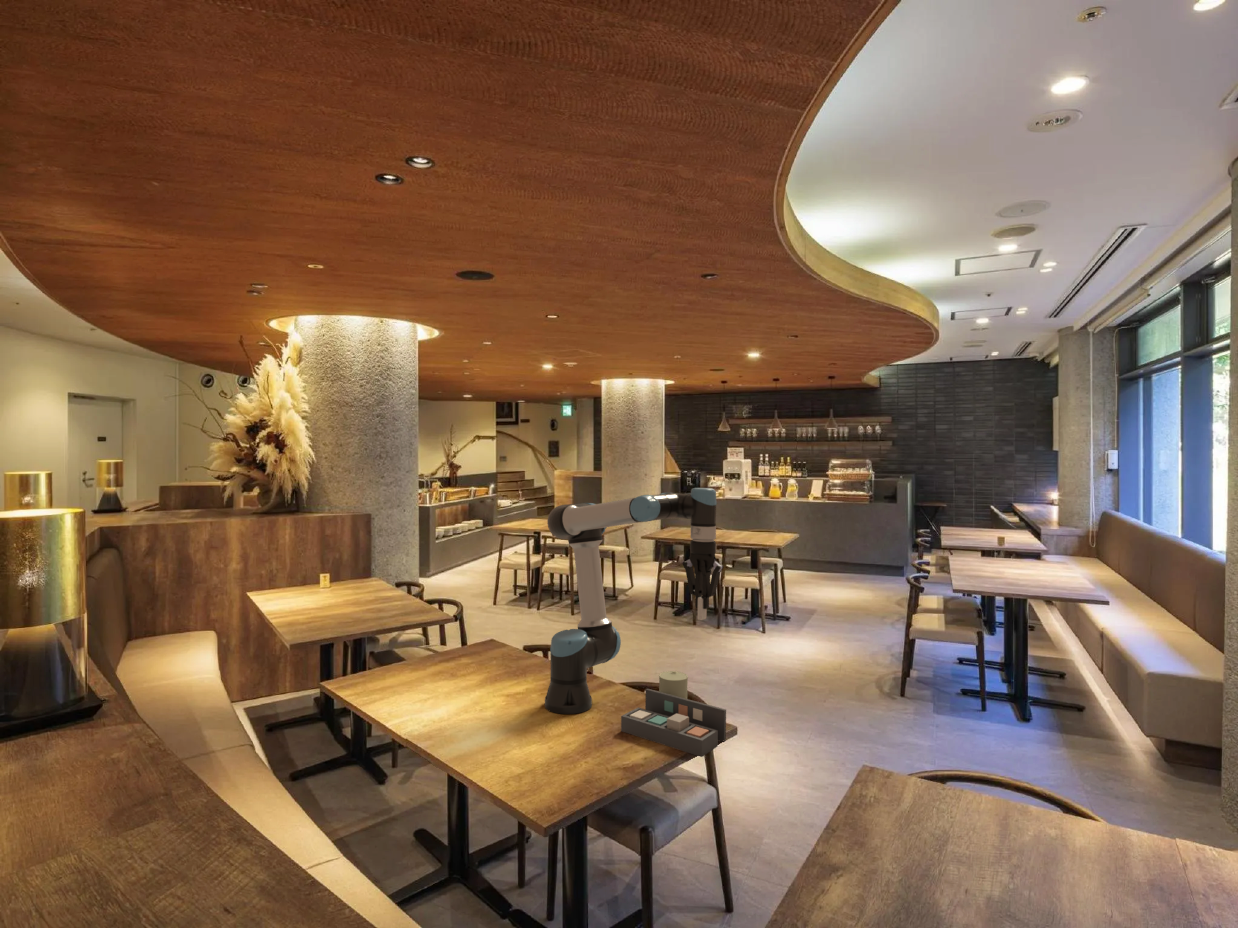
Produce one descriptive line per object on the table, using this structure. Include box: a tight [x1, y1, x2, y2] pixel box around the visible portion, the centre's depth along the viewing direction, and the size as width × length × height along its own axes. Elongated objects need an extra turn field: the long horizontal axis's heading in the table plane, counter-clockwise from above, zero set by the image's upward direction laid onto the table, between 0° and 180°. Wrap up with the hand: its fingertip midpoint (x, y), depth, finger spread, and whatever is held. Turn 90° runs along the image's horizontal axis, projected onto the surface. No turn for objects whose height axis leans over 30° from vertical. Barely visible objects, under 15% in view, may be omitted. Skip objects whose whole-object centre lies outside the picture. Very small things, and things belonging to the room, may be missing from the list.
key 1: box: [630, 710, 651, 720], centre depth 202 cm, size 4×5×4 cm
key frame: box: [620, 707, 719, 758], centre depth 196 cm, size 27×9×4 cm, turn 53°
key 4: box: [687, 727, 709, 738], centre depth 190 cm, size 4×5×4 cm
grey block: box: [667, 713, 689, 732], centre depth 194 cm, size 4×5×4 cm
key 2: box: [648, 715, 667, 726], centre depth 198 cm, size 4×5×4 cm
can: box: [658, 670, 689, 699], centre depth 216 cm, size 9×9×12 cm
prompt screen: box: [644, 688, 727, 743], centre depth 202 cm, size 27×1×9 cm, turn 53°
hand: (702, 618), depth 204 cm, fingers closed
